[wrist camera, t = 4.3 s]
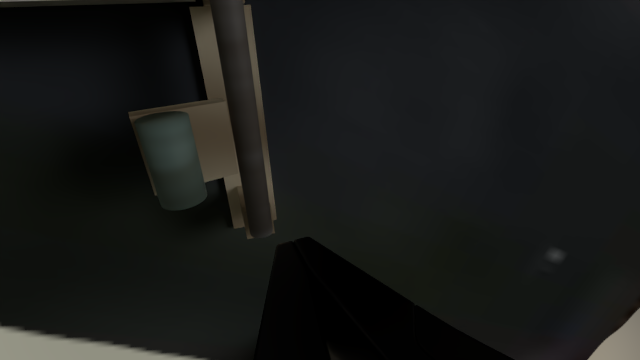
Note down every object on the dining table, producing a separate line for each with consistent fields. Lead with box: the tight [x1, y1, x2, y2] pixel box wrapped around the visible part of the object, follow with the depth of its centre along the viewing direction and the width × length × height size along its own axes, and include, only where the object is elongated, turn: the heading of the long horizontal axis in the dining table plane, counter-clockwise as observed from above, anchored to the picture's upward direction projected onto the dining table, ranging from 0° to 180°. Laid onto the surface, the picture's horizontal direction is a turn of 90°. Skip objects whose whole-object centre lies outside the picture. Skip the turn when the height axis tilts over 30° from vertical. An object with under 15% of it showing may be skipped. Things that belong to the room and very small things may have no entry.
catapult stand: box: [189, 0, 277, 239], centre depth 15 cm, size 20×13×3 cm
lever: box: [128, 0, 273, 238], centre depth 13 cm, size 19×18×2 cm
